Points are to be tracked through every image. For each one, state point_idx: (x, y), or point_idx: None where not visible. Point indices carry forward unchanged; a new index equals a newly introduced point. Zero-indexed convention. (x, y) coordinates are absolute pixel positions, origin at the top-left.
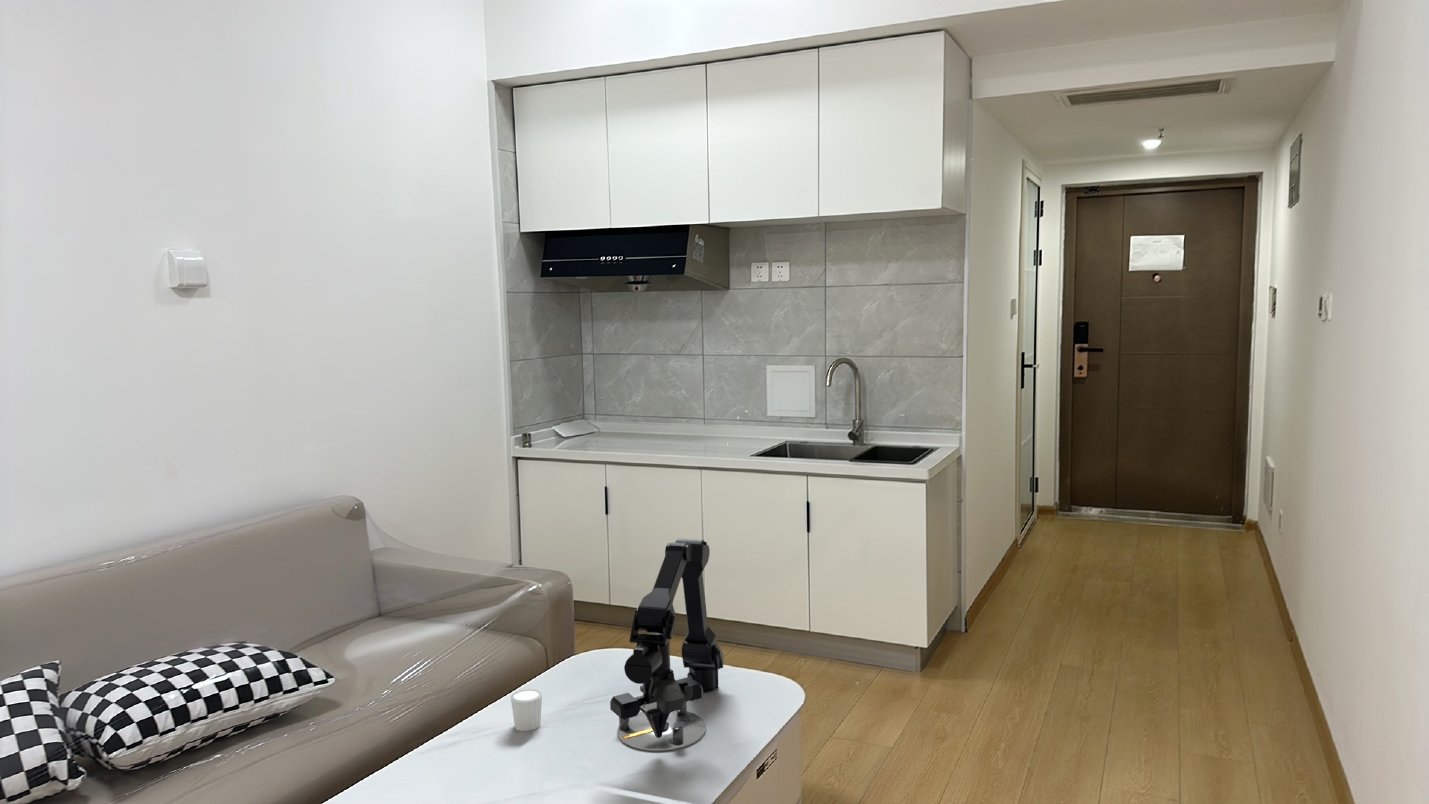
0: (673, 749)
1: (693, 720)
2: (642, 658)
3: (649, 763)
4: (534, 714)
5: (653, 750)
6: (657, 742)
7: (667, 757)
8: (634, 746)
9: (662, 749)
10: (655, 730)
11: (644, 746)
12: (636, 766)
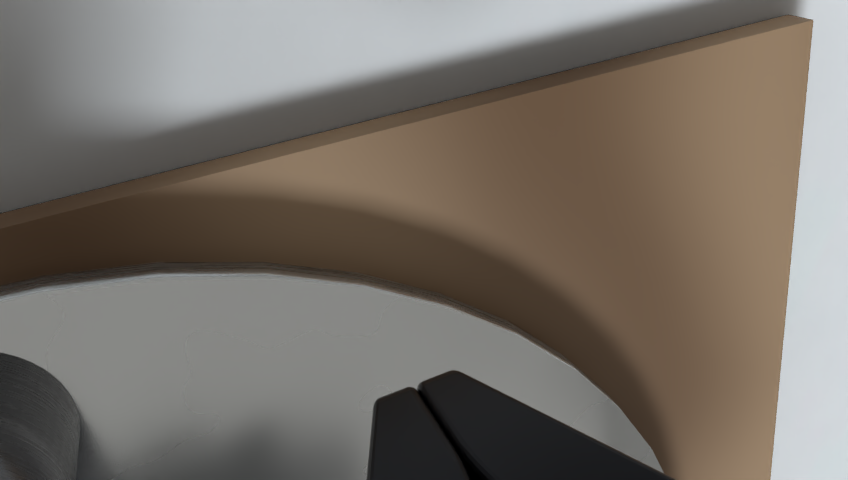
0: (92, 276)
1: None
2: None
3: (517, 47)
4: None
5: (423, 296)
6: (326, 476)
7: (217, 151)
8: (625, 415)
9: (294, 278)
10: (613, 458)
11: (524, 393)
12: (691, 20)
